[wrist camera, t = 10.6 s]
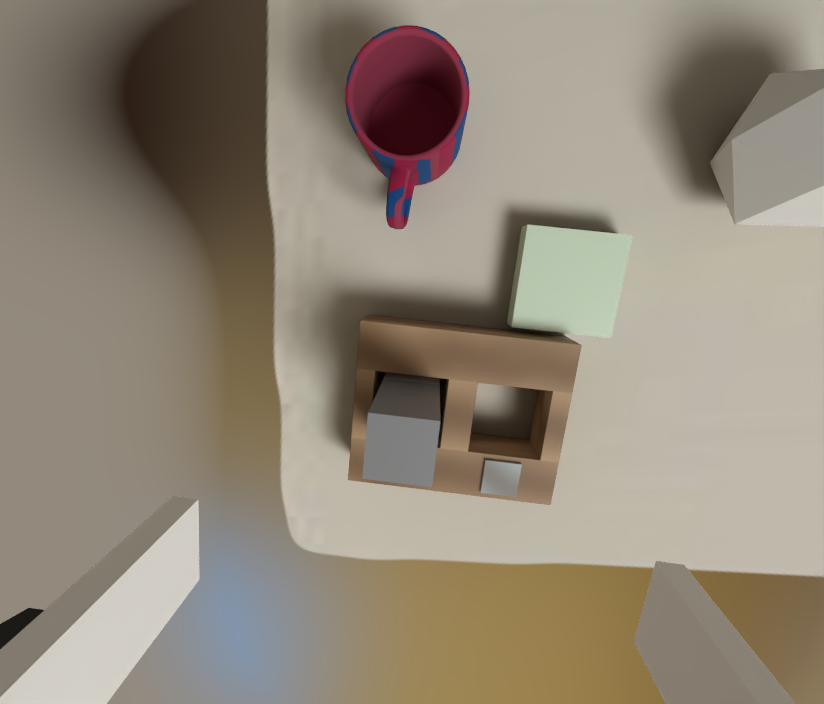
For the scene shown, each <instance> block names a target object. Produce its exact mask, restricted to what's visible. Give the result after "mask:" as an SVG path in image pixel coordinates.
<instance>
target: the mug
mask: <svg viewBox="0 0 824 704" xmlns="http://www.w3.org/2000/svg"><path fill="white" fill-rule="evenodd" d="M345 101H346V108H347V113H348V116H349V120H350V123H351V125H352V127H353V129H354V131H355V133H356V135H357V136H358V138H359V140H360V141H361V143H362V145H363V146H364V148H365V150H366V151H367V153H368V154H369V156H370V158H371V159H372V161H373V163H374V164H375V165H376V167H377V168H378V169H379V170H380V171H381V172H382V173H383V174H384V175H385V176H386V177H388V178H389V185H388V194H387V206H386V217H387V222H388V225H389V227H391V228H394V229H403V228H404V227H405V226H406V224H407V221H408V216H409V211H410V205H411V199H412V194H413V190H414V185H422V184H426V183H429V182H431V181H433V180H435V179H437V178H439V177H440V176H441V175H442V174H444V173H445V172H446V171H447V170H448V168H449V167H450V166H451V165H452V163H453V162H454V160H455V158H456V156H457V154H458V151H459V148H460V144H461V139H462V135H463V130H464V125H465V120H466V115H467V110H468V105H469V81H468V77H467V73H466V69H465V66H464V64H463V62H462V60H461V57H460V56H459V54H458V53H457V51H456V50H455V49H454V47H453V46H452V45H451V44H450V43H449V42H448V41H447V40H446V39H445V38H443V37H442V36H440V35H439V34H437V33H436V32H434V31H431V30H429V29H427V28H423V27H419V26H399V27H393V28H391V29H388V30H385V31H383V32H381V33H380V34H378V35H376V36H375V37H373V38H372V39H371V40H370V41H369V42H368V43H367V44H365V45H364V47H363V48H362V49H361V50H360V52H359V53H358V54H357V56H356V58H355V60H354V62H353V64H352V65H351V68H350V71H349V74H348V78H347V83H346V100H345Z"/></svg>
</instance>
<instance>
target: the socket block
mask: <svg viewBox="0 0 824 704" xmlns="http://www.w3.org/2000/svg"><path fill="white" fill-rule="evenodd" d="M580 351H581V345H580V344H578V343H577V342H575V341H573V340H571V339H569V338H568V337H566V336H558V335H549V334H540V333H531V332H522V331H513V330H504V329H494V328H485V327H476V326H467V325H458V324H449V323H440V322H431V321H422V320H413V319H404V318H395V317H386V316H377V315H367V316H366V317H365V318H363V319H362V320H360V331H359V344H358V357H357V370H356V383H355V396H354V409H353V422H352V435H351V447H350V460H349V473H348V480H352V481H360V482H368V483H376V484H384V485H393V486H401V487H409V488H417V489H425V490H433V491H441V492H449V493H457V494H465V495H473V496H481V497H489V498H497V499H506V500H514V501H522V502H530V503H538V504H546V505H551V499H552V494H553V489H554V484H555V479H556V474H557V469H558V463H559V458H560V453H561V448H562V443H563V438H564V433H565V428H566V422H567V417H568V412H569V407H570V402H571V397H572V392H573V386H574V381H575V376H576V371H577V366H578V361H579V356H580ZM380 371H382V372H390V373H399V374H408V375H416V376H425V377H434V378H443V379H446V384H445V392H444V400H443V408H442V416H441V424H440V429H439V437H438V445H437V453H436V461H435V469H434V477H433V485H432V487H424V486H416V485H408V484H400V483H392V482H384V481H376V480H368V479H362V476H363V464H364V453H365V441H366V429H367V418H368V411H369V409H370V407H371V405H372V403H373V400H374V398H375V396H376V394H377V392H378V390H379V381H380ZM478 383H486V384H495V385H503V386H512V387H521V388H530V389H538V395H537V401H536V406H535V412H534V418H533V423H532V429H531V435H530V440H525V439H516V438H508V437H500V436H491V435H483V434H474V433H471V427H472V420H473V413H474V406H475V399H476V392H477V385H478Z"/></svg>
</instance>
